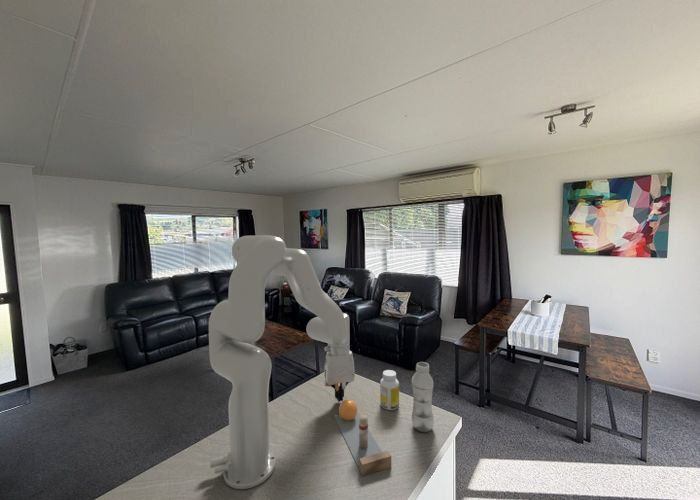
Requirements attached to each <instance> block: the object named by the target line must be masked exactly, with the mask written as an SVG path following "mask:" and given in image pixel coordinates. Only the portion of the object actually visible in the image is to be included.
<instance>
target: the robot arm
mask: <svg viewBox="0 0 700 500" xmlns="http://www.w3.org/2000/svg"><path fill="white" fill-rule="evenodd" d="M231 255H232V258H233V259H234V262H236V263H237V264H236V265H235V267H234V269H233V270H232V272H231V275H230V277H229V282H228V299H224V300H222V301H220V302H218V303H217V304H216V305H215V306H214V307H213V309H212V311H211V312H210V313H211V314H210V316H209V319H208V349H209V350H208V352H209V353H208V354H209V363H210V366H211V368H212V370H213V371H214V372H215V374H218V375H219V376H220V377H222V378H224V379H225V380H227V381H229V382H230V383H231V384H232V385H231V386H232V390H231V393H230V395H229V398H228V409H227V410H228V433H229V434H228V437H229V439H228V440H229V449H228V453H225V454H224V455H223V456H219V457H215V458H211V459H210V466H209V467H210V469H214V474H218V473H221V472H223V480H224V482H225V483H226V485H228V487H230V488H232V489H235V490H246V489H251V488H254V487H257V486H259V485H260V484H262V483H264V482H265V481H266V480H267V479H268V478H269V477H270V476H271V475H272V473H274V471H275V468H276V464H277V458H276V454H275V452H274V451H273V450H272V449H270V418H269V417H270V414H269V411H270V410H269V409H270V408H269V407H270V406H269V388H270V387H269V386H270V379H271V373H272V368H273V367H272V359H271V357H270V356H269V354H268V353H267V352H266V351H265V350H264V349H263V348H261V347H258V346H256V345H253V344H250V343H255V342H257V341H259V339H261V338H262V337H263V334H264V331H265V329H266V328H265V327H266V325H265V324H266V309H265V307H266V306H265V305H266V302H265V298H266V297H265V294H266V293H265V292H266V284H267V280H268V278H269V276H270V275H274V276H281V277H284V278H285V279H286V281H287V283H288V285H289V288H290V289H291V292H292V295H293V296H294V298H295V301H296V302H297V303H298V305H300V306H301V307H302V308H304V309H305V310H307V311H308V312H310V313H311V314H314V315H315V317H313V318H311V319H310V320H309V321H308V322H307V325H306V326H305V327H306V334H307V335H308V337H309V338H311V339H312V340H315V341H319V342H322V343H326V344H327V346H325V347H324V348H323V350H324V352H326V355H325V361H324V382H323V383H324V386H325V387H331V388H333V389H334V397H335V399H336V400H337V402H338V403H340V402H343V401H344V397H345V389H346V387H347V385H349V383H352V382H354V381H355V376H356V373H355V362H354V356H353V351H351V350H350V349H351V348H350V347H351V345H350V341H351V340H350V339H351V337H350V335H351V333H350V316H349V314H347V313H345V312H343V311H342V310H341V308H340V307H339V305H338V303H336V302H335V301H334V300H333V299H332V298H331V297H330V296H329V294H327V293H326V292H325V291H324V290H323V288H322V286H321V283H320V281H319V279H318V276H317V274H316V271H315V268H314V267H313V264H312V261H311V258H310V257H309V254H308V253H307V252H306V251H304V250H303V249H299V248H292V247H291V248H290V247H287V245H286V243H285V241H284V240H283V239H282V238H280V237H278V236H275V235H270V234H269V235H267V234H261V235H242V236H241V237H239V238H237V239H236V240H235V241H233V243H232V246H231Z"/></svg>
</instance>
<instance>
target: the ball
mask: <svg viewBox="0 0 700 500" xmlns="http://www.w3.org/2000/svg"><path fill="white" fill-rule="evenodd" d="M338 407H339V408H338V413H339V414H340V416H341V417H342V418H343V419H344V420H346V421H350V420H353V419H354V418H355V417H356V415H357V412H358V410H359V409H358V406H357V404H356V402H355V401H354V400H352V399H349V398H348V399H345V400H344V399H343V401H341V403H340V405H339V406H338Z"/></svg>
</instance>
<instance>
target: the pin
mask: <svg viewBox="0 0 700 500" xmlns="http://www.w3.org/2000/svg"><path fill="white" fill-rule="evenodd" d="M368 420H369V418H368V415H365V414H361V415H360V416H359V447H360V448H361V449H367V447H368V430H369V421H368Z"/></svg>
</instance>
